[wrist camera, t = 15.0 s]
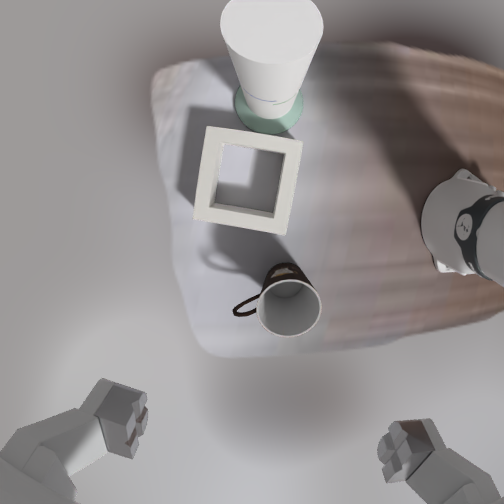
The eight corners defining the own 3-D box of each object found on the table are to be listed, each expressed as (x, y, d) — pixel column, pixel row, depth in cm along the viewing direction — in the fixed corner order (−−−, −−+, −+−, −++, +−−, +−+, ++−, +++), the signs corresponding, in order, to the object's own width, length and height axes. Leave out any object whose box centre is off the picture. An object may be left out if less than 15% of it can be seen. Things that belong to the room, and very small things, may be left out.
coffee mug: (317, 261, 47) (329, 286, 38) (304, 309, 50) (311, 341, 40) (245, 247, 47) (239, 268, 38) (236, 296, 50) (228, 327, 40)
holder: (299, 144, 42) (303, 141, 38) (283, 228, 46) (285, 235, 41) (213, 129, 42) (206, 125, 38) (200, 213, 46) (192, 219, 41)
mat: (307, 79, 39) (307, 78, 39) (296, 140, 42) (297, 139, 42) (241, 68, 39) (241, 67, 39) (230, 128, 42) (229, 128, 42)
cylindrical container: (248, 73, 39) (226, -17, 15) (296, 77, 39) (324, -9, 15) (243, 117, 41) (214, 61, 17) (292, 121, 41) (321, 70, 17)
